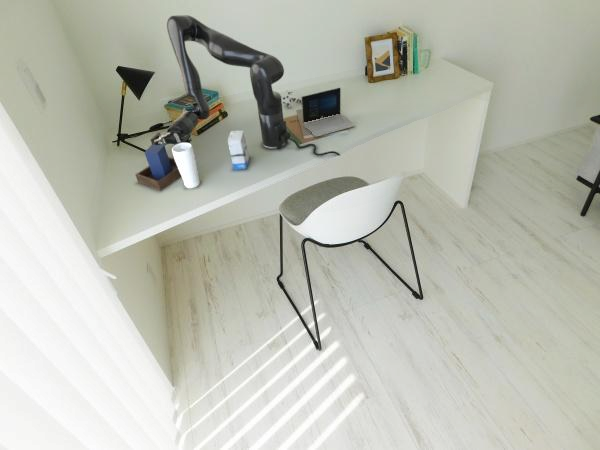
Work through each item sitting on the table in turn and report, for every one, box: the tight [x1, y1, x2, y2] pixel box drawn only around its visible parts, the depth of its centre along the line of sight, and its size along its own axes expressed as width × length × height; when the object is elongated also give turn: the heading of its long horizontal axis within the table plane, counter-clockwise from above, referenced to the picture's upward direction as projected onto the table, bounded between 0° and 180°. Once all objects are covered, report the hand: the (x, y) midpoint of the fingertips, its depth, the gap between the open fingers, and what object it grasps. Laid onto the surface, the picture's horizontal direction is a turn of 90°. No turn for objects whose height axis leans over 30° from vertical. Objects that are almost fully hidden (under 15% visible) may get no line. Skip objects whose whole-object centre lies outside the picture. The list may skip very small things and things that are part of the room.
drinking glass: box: [171, 142, 201, 189], centre depth 136 cm, size 7×7×15 cm
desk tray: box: [134, 156, 182, 192], centre depth 145 cm, size 12×15×4 cm
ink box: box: [227, 130, 250, 171], centre depth 146 cm, size 9×5×12 cm, turn 178°
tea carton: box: [144, 144, 173, 179], centre depth 143 cm, size 5×6×11 cm
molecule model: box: [281, 89, 302, 109], centre depth 186 cm, size 6×12×8 cm, turn 128°
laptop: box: [301, 87, 355, 138], centre depth 164 cm, size 18×12×13 cm
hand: (162, 149), depth 144 cm, fingers open, 8 cm apart
